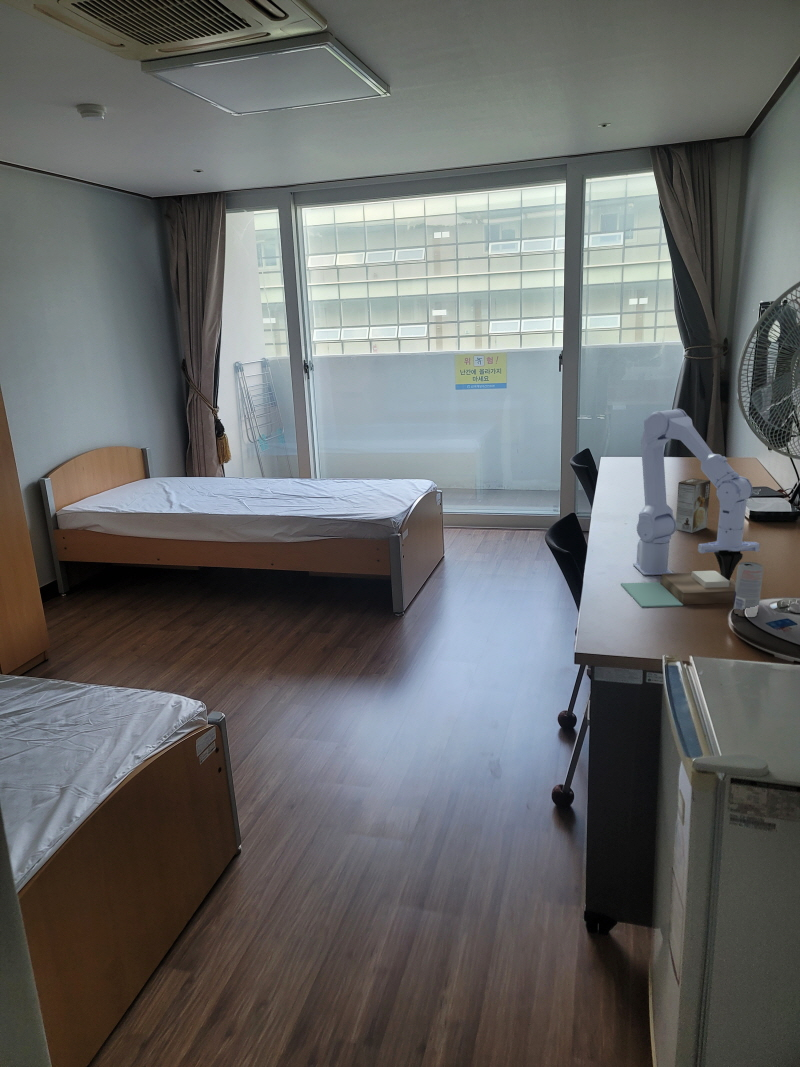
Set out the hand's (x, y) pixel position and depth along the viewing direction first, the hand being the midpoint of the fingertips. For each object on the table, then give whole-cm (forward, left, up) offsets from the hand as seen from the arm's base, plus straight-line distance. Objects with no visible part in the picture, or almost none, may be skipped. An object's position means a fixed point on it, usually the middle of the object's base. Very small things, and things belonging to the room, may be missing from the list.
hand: (725, 578), depth 182 cm
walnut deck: (0, -5, -4) cm, 6 cm away
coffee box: (-58, +16, -4) cm, 60 cm away
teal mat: (0, -19, -4) cm, 19 cm away
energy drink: (+14, -1, -4) cm, 15 cm away
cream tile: (0, -4, -1) cm, 4 cm away
